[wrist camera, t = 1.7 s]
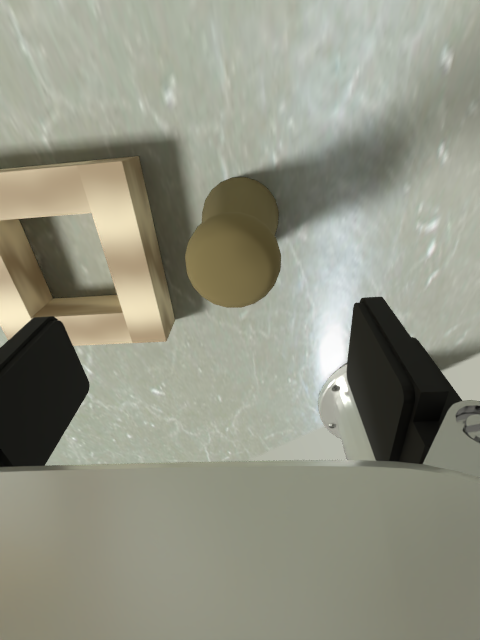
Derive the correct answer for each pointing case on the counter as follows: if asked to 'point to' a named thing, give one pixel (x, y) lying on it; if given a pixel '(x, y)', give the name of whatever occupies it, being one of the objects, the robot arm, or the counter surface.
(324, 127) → the counter surface
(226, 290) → the cork
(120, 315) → the socket block
